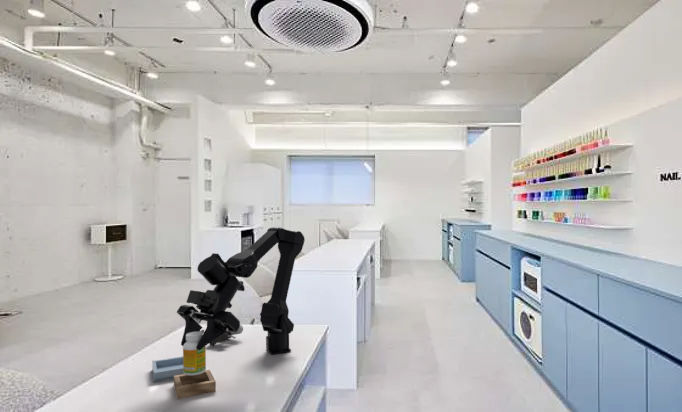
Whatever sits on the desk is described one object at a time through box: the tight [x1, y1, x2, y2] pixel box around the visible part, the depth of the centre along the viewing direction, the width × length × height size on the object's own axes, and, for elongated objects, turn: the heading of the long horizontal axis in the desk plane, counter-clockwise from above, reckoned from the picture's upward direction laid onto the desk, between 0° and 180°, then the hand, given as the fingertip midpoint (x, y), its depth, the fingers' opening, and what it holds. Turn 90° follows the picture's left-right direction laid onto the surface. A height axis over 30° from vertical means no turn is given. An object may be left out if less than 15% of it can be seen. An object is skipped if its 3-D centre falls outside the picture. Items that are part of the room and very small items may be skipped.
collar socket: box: [173, 369, 217, 400], centre depth 107 cm, size 9×9×2 cm
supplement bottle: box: [182, 332, 207, 375], centre depth 108 cm, size 5×5×10 cm
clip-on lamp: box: [199, 323, 244, 347], centre depth 147 cm, size 12×6×18 cm
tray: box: [152, 355, 184, 383], centre depth 119 cm, size 12×10×2 cm
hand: (189, 347), depth 106 cm, fingers closed on supplement bottle, 5 cm apart
